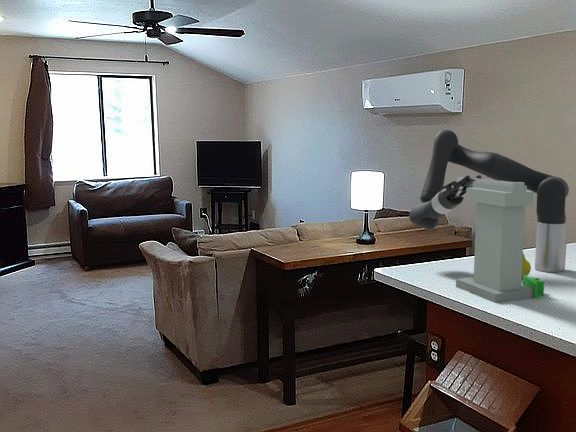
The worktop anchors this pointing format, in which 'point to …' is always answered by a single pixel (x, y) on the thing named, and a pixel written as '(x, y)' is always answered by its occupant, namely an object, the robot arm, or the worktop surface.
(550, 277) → the worktop surface
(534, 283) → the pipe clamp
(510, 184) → the lever bar
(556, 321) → the worktop surface
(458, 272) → the worktop surface
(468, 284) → the post
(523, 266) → the fruit
